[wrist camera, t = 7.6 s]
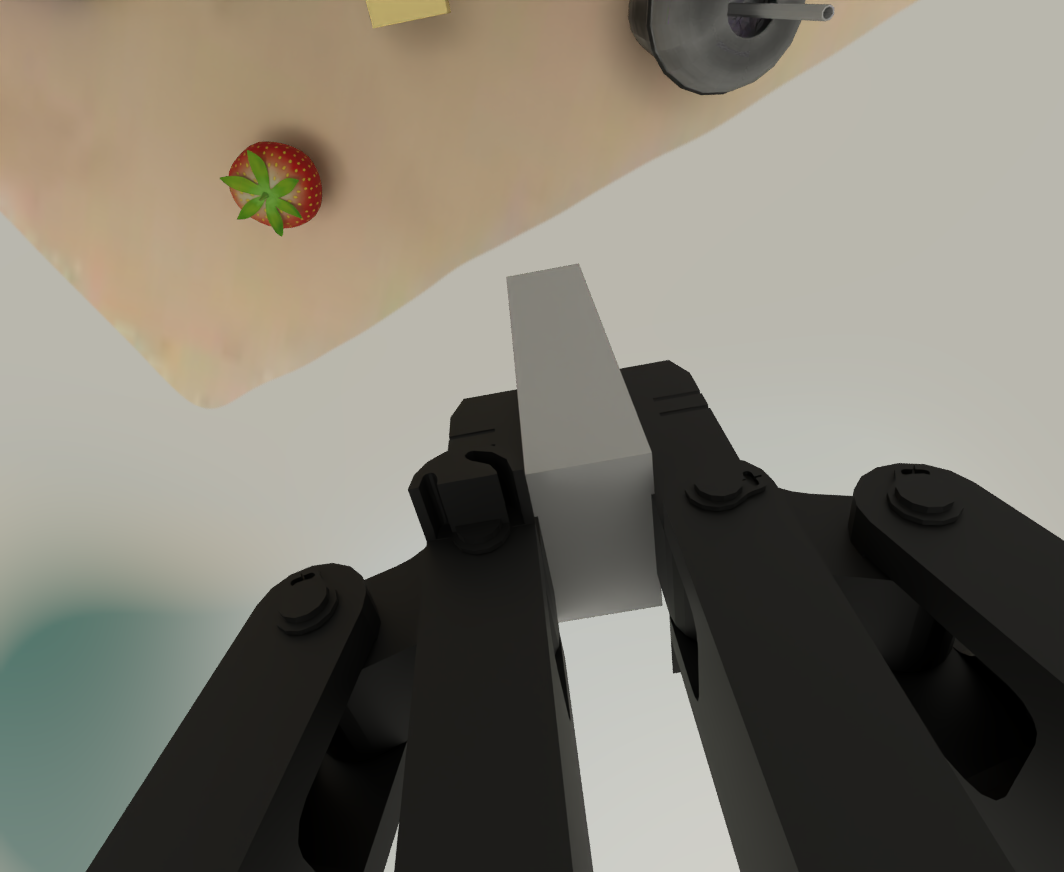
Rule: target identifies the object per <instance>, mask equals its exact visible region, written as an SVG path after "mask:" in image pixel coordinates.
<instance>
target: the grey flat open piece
mask: <svg viewBox="0 0 1064 872" xmlns="http://www.w3.org/2000/svg"><path fill="white" fill-rule="evenodd" d="M366 3H367V7H368V11H369V15H370V18H371V22H372V26H373V28H378V27H382V26H387V25H392V24H397V23H402V22H407V21H412V20H417V19H421V18H426V17H431V16H436V15H441V14H446V13H451V11H450V6H449V1H448V0H366Z"/></svg>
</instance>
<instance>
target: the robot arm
mask: <svg viewBox="0 0 1064 872" xmlns="http://www.w3.org/2000/svg"><path fill="white" fill-rule="evenodd" d="M507 288H508V298H509V309H510V319H511V329H512V340H513V351H514V362H515V373H516V383H517V390H511V391H505V392H500V393H494V394H489V395H483V396H478V397H472V398H467V399H463V401H462V402H461V404H460V405H459V406H458V408H457V409H456V411H455V412H454V414H453V415H452V416H451V419H450V433H449V438H450V440H449V445H448V451H447V452H444V453H443V454H441V455H439V456H437V457H435V458H434V459H432V460H430V461H428V462H427V463H426V464H425V465H424V466H423V467H422V468H421V469H420V470H419V471H418V472H417V473H416V474H415V475H414V477H413V479H412V481H411V484H410V486H409V488H408V491H409V494H410V497H411V500H412V502H413V505H414V507H415V510H416V513H417V516H418V519H419V521H420V524H421V527H422V529H423V532H424V535H425V538H426V541H427V546H426V547H425V548H424V549H423V550H422V551H421V552H419V553H418V554H417V555H415V556H414V557H413V558H411V559H409V560H408V561H406V562H404V563H402V564H400V565H398V566H396V567H394V568H392V569H389V570H387V571H385V572H382V573H380V574H377V575H375V576H373V577H370V578H368V579H366V580H364V579H363V577H362V576H361V575H360V574H359V573H358V572H356V571H355V570H354V569H353V568H352V567H350V566H345V565H340V564H335V563H330V564H322V565H316V566H311V567H309V568H306V569H304V570H301V571H299V572H296V573H294V574H292V575H290V576H288V577H287V578H286V579H284V580H283V581H282V582H280V583H279V584H277V585H276V586H274V587H273V588H272V589H271V590H270V591H269V592H268V593H267V594H266V596H265V597H264V598H263V599H262V600H261V601H260V602H259V604H258V605H257V606H256V608H255V609H254V611H253V612H252V614H251V615H250V617H249V618H248V620H247V622H246V623H245V625H244V626H243V628H242V629H241V631H240V632H239V634H238V636H237V637H236V639H235V640H234V642H233V643H232V645H231V647H230V648H229V650H228V651H227V653H226V654H225V656H224V657H223V659H222V660H221V662H220V664H219V665H218V667H217V668H216V670H215V671H214V673H213V674H212V676H211V678H210V679H209V681H208V682H207V684H206V685H205V687H204V689H203V690H202V692H201V693H200V695H199V696H198V698H197V699H196V701H195V702H194V704H193V706H192V707H191V709H190V710H189V712H188V714H187V715H186V716H185V718H184V720H183V721H182V723H181V724H180V726H179V727H178V729H177V731H176V732H175V734H174V735H173V737H172V738H171V740H170V741H169V743H168V745H167V746H166V748H165V749H164V751H163V752H162V754H161V755H160V757H159V759H158V760H157V762H156V763H155V765H154V766H153V768H152V770H151V771H150V773H149V774H148V776H147V777H146V779H145V781H144V782H143V784H142V785H141V787H140V788H139V790H138V791H137V793H136V794H135V796H134V797H133V799H132V801H131V802H130V804H129V806H128V807H127V808H126V810H125V812H124V813H123V815H122V816H121V818H120V819H119V821H118V822H117V824H116V826H115V827H114V829H113V830H112V832H111V833H110V835H109V836H108V838H107V840H106V841H105V843H104V844H103V846H102V847H101V849H100V850H99V852H98V854H97V855H96V857H95V858H94V860H93V861H92V863H91V864H90V866H89V868H88V869H87V871H86V872H384V869H385V866H386V862H387V859H388V856H389V853H390V849H391V846H392V843H393V840H394V837H395V833H396V830H397V827H398V824H399V830H398V840H397V851H396V860H395V870H394V872H593V866H592V859H591V851H590V843H589V836H588V829H587V822H586V814H585V806H584V799H583V791H582V783H581V776H580V768H579V761H578V753H577V746H576V738H575V730H574V723H573V715H572V708H571V700H570V693H569V685H568V678H567V670H566V663H565V656H564V651H563V647H562V642H561V638H560V633H559V625H558V623H559V622H565V621H570V620H577V619H583V618H589V617H595V616H602V615H608V614H614V613H619V612H625V611H632V610H638V609H644V608H650V607H656V606H662V594H661V588H662V591H663V595H664V597H665V601H666V604H667V607H668V610H669V614H670V631H671V647H672V663H673V673H678V672H681V674H682V678H683V681H684V684H685V688H686V691H687V694H688V698H689V701H690V704H691V708H692V711H693V715H694V718H695V721H696V725H697V728H698V731H699V734H700V738H701V741H702V744H703V748H704V751H705V755H706V758H707V761H708V765H709V768H710V771H711V775H712V778H713V782H714V785H715V788H716V792H717V795H718V798H719V802H720V805H721V808H722V812H723V815H724V818H725V822H726V825H727V828H728V832H729V835H730V838H731V842H732V845H733V848H734V852H735V855H736V859H737V862H738V865H739V869H740V872H1064V541H1063V540H1062V539H1061V538H1059V537H1057V536H1056V535H1054V534H1053V533H1051V532H1050V531H1048V530H1047V529H1045V528H1043V527H1042V526H1041V525H1039V524H1037V523H1036V522H1034V521H1033V520H1031V519H1030V518H1028V517H1027V516H1025V515H1024V514H1022V513H1021V512H1019V511H1017V510H1015V509H1014V508H1013V507H1011V506H1010V505H1008V504H1006V503H1005V502H1004V501H1002V500H1001V499H999V498H997V497H996V496H994V495H993V494H991V493H990V492H988V491H987V490H985V489H984V488H982V487H980V486H979V485H977V484H976V483H974V482H972V481H970V480H968V479H966V478H964V477H962V476H960V475H958V474H956V473H954V472H952V471H949V470H945V469H941V468H937V467H933V466H929V465H925V464H905V463H903V464H902V463H897V464H892V465H887V466H882V467H877V468H875V469H873V470H872V471H870V472H869V473H867V474H865V475H863V476H862V477H861V478H860V480H859V482H858V483H857V485H856V487H855V489H854V492H853V496H841V495H821V494H807V493H800V492H792V491H788V490H785V489H781V488H778V487H777V485H776V484H775V482H774V481H773V480H772V479H771V478H770V477H769V476H768V475H767V474H766V473H765V472H764V471H763V470H762V469H760V468H758V467H756V466H754V465H752V464H750V463H748V462H746V461H742V460H740V459H739V457H738V456H737V454H736V452H735V451H734V449H733V447H732V445H731V444H730V442H729V440H728V438H727V437H726V435H725V433H724V431H723V430H722V428H721V426H720V425H719V423H718V421H717V419H716V418H715V416H714V414H713V412H712V411H711V409H710V408H708V404H707V402H706V400H705V399H704V397H703V395H702V394H700V390H699V388H698V386H697V385H696V383H695V381H694V379H693V378H692V376H691V374H690V373H689V372H687V371H686V370H684V369H683V368H681V367H679V366H678V365H676V364H674V363H673V362H671V361H670V360H666V361H661V362H655V363H650V364H644V365H638V366H633V367H627V368H622V369H619V367H618V364H617V361H616V359H615V356H614V354H613V351H612V348H611V346H610V343H609V341H608V338H607V335H606V333H605V330H604V328H603V325H602V323H601V320H600V317H599V315H598V312H597V310H596V307H595V304H594V302H593V299H592V297H591V294H590V292H589V289H588V286H587V284H586V281H585V279H584V276H583V273H582V271H581V268H580V266H579V264H574V265H569V266H563V267H558V268H552V269H547V270H542V271H536V272H531V273H526V274H520V275H515V276H510V277H507Z"/></svg>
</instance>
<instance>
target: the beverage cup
mask: <svg viewBox="0 0 1064 872" xmlns="http://www.w3.org/2000/svg"><path fill="white" fill-rule="evenodd" d="M833 15H834V7H833V6H832V5H828V4H805V0H630V3H629V16H628V18H629V23H630V27H631V31H632V33H633V34H634V36H635V38H636V40H637V41H638V42H639V44H640V45H641V46H642V47H643V48H644V49H646V50H647V51H648V52H649V53H650V54H652V55H653V56H654V57H655V59H656V60H657V62H658V64H659V66H660V68H661V69H662V71H663V73H664V74H665V75H666V76H667V77H668V78H670V79H671V80H672V81H673V82H674V83H675V84H676V85H678V86H679V87H680V88H682V89H685V90H688V91H691V92H693V93H696V94H699V95H716V94H725V93H727V92H730V91H733V90H735V89H738V88H740V87H743V86H745V85H748V84H750V83H753V82H755V81H756V80H757V79H758V78H760V77H761V76H762V75H764V74H765V73H766V72H767V71H769V70H770V69H771V68H772V67H774V65H775V64H776V63H777V62H778V60H779V59H780V58H781V56H782V55H783V54H784V52H785V51H786V50H787V48H788V47H789V46H790V44H791V43H792V41H793V38H794V36H795V34H796V32H797V29H798V27H799V25H800V23H801V20H811V21H827V20H830V19H831V18H832V16H833Z"/></svg>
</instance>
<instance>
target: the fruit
mask: <svg viewBox="0 0 1064 872" xmlns="http://www.w3.org/2000/svg"><path fill="white" fill-rule="evenodd" d="M220 179H221V180H222V181H223V182H224V183H225V184H227V185H228V186H229V187H230V191H231V194H232V196H233V198H234V200H235V202H236V203H237V205H238V206H239V207H240V208H241V209H242V210H241V212H240V214H239V216H238V218H237V219H246V218H249V217H251V218H253V219H255V220H257V221H258V222H261V223H263V224H266V225H268V226H272V227H273V229H274V230H275V232H276V233H277V234H278V235H280V236H282V235H283V228H292V227H296V226H300V225H302V224H304V223H306V222H308V221H310V220H311V219H312V218H313V217H314V216H316V214H317V212H318V210H319V208H320V206H321V201H322V185H321V180H320V176H319V173H318V171H317V169H316V167H315V165H314V163H313V162H312V161H311V159H310V158H309V157H308V156H307V155H306V154H304V153H303V152H302V151H300V150H298V149H296V148H294V147H292V146H289V145H286V144H282V143H277V142H258V143H255V144H253V145H250V146H249V147H248V148H246V149H245V150H244V151H243V152H242V153H241V154H240V155H239V156H238V157H237V159H236V160H235V161H234V163H233V164H232V166H231V169H230V171H229V176H226V177H221V178H220Z"/></svg>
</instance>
